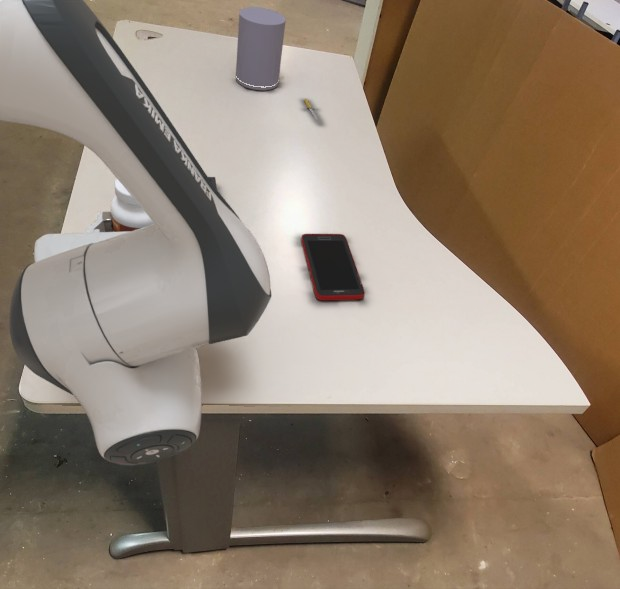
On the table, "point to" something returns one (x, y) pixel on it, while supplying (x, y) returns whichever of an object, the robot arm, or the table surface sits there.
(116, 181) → the pill bottle
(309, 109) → the dagger
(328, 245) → the cell phone
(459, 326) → the table surface
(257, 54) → the container
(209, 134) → the table surface
